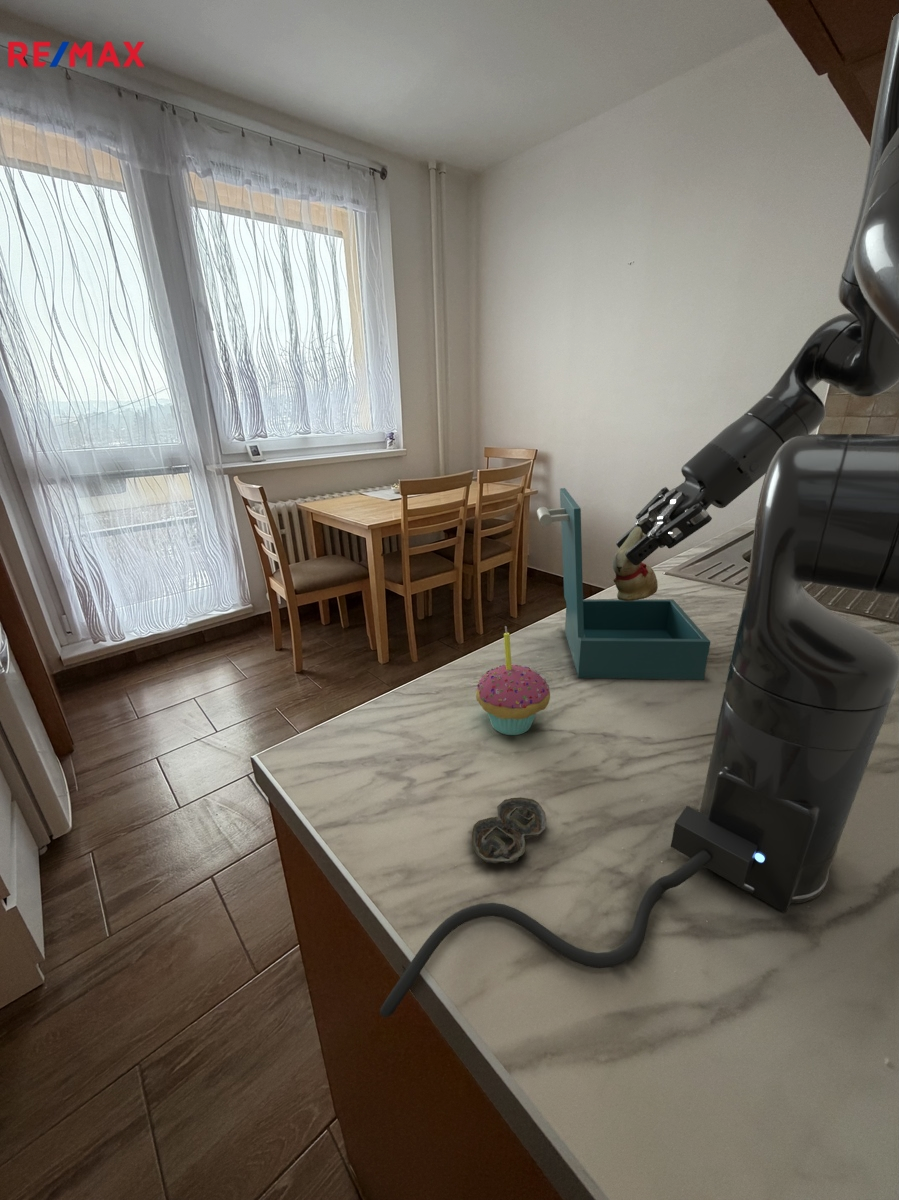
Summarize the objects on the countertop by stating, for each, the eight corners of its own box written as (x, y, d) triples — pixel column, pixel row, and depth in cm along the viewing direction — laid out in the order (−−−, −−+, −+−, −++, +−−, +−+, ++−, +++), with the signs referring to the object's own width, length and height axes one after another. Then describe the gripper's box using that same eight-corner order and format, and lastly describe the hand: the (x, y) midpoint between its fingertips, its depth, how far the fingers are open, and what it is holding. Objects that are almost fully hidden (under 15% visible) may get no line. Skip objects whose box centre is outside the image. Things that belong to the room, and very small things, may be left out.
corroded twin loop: (558, 823, 44) (559, 815, 43) (503, 883, 39) (503, 873, 38) (514, 795, 47) (514, 787, 47) (458, 846, 42) (457, 838, 42)
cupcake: (466, 711, 60) (463, 625, 56) (527, 696, 63) (529, 612, 58) (494, 754, 53) (494, 658, 48) (562, 735, 55) (568, 642, 51)
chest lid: (565, 487, 71) (533, 491, 72) (580, 508, 58) (541, 512, 58) (569, 596, 78) (540, 598, 78) (584, 637, 64) (549, 639, 65)
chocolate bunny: (601, 593, 71) (599, 527, 68) (649, 584, 73) (648, 518, 70) (621, 604, 66) (620, 532, 63) (672, 593, 67) (673, 522, 64)
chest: (668, 632, 78) (673, 599, 76) (703, 679, 65) (710, 641, 63) (564, 631, 80) (566, 599, 78) (578, 677, 67) (580, 640, 64)
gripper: (692, 437, 67) (596, 524, 73) (739, 445, 54) (618, 551, 60) (725, 475, 68) (629, 557, 74) (779, 492, 55) (658, 590, 61)
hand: (625, 554), depth 67 cm, fingers closed on chocolate bunny, 5 cm apart
